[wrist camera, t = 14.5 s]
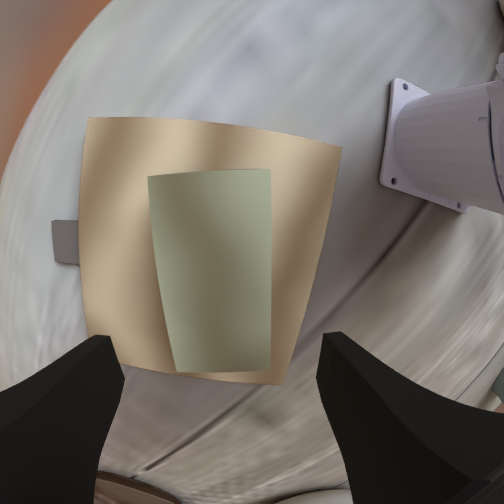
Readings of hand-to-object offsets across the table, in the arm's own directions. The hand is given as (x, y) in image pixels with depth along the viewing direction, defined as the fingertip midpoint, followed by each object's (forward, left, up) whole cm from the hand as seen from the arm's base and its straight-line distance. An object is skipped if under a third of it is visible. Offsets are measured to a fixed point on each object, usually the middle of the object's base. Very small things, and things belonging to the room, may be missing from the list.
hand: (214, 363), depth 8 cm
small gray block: (+11, 0, -10) cm, 15 cm away
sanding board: (+2, 0, -9) cm, 10 cm away
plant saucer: (+12, +46, -10) cm, 49 cm away
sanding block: (0, -1, -8) cm, 8 cm away
